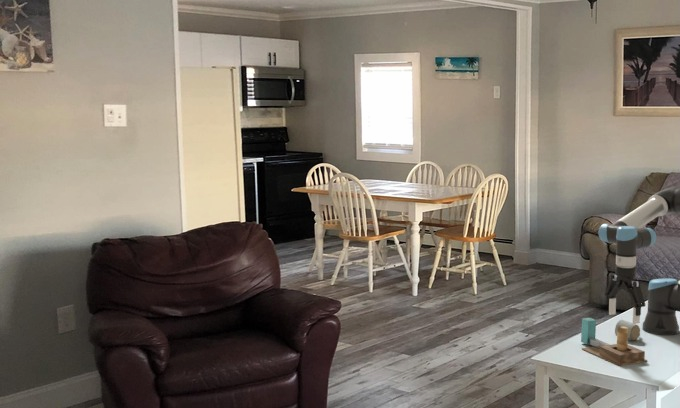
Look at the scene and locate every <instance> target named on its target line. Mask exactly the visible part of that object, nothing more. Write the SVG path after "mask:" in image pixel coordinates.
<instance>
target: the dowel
mask: <svg viewBox="0 0 680 408" xmlns="http://www.w3.org/2000/svg"><path fill="white" fill-rule="evenodd" d="M628 343H629V340H628V328H627V327H618V328H617V336H616V344H617V350H618V351H620V352H625V351H627V345H629V344H628Z"/></svg>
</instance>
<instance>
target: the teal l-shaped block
mask: <svg viewBox="0 0 680 408" xmlns="http://www.w3.org/2000/svg"><path fill="white" fill-rule="evenodd" d="M596 327H597V320H596V319H594V318H592V317H585V318H584V317H583V318H581V334H580V336H581V339H580V343H582V344H585V345H590V346H591V347H597V348H600V346H606V345H611V344H609V343H607V342H605V341H602V340H601V339H597V338H596V333H597V332H596V330H597V329H596ZM614 349H615V350H616V348H614Z"/></svg>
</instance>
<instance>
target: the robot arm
mask: <svg viewBox="0 0 680 408" xmlns="http://www.w3.org/2000/svg"><path fill="white" fill-rule="evenodd" d="M668 214H677V215H680V186H672V187H668V188H665V189H662V190H660V191H658V192H656V193H654V194H653V195H651V196H649V197H648V199H647V201H646V202H644V203H643V204H641V205H640V206H638V207H637V208H635V209H634V210H631V211H630V212H629V213H628V214H626V215H624V216H622V217H621V218H620V219H618V220H617V221H615V222H613V223H612V224H611V223H602V224H601V225H600V226H599V228H598V238H599V239H600V241H601V242H603V243H604V242H605V243H609V244H615V247H616V248H615V250H616V252H615V265H616V266H615V268H614V269H615V272H614V273H615V274H611V275H610V280H609V283H608V285H607V287H606V289H605V293H604V295H605V296H606V297H607V298H608V315H610V316H612V315H616V314H617V312H616V309H617V297H616V296H617V295H618V293H619V292H620V291H621V290H623V291H626V293H628V295H629V296H630V299H631V302H632V303H633V307H632V323H633V324H636V325H638V324H640V322H641V321H640V320H641V317H640V316H641V315H642V308H643V307H646V301H645V299H644V296H643V295H644V294H643V292H642V289H641V281H639V280H637V281H636V280H634V279H635V277H636V275H637V273H636V272H637V271H636V270H637V268H636V266H637V250H641V249H644V248H649V247H652V246H653V245H655V244H656V241H657V234H656V231H655V230H653V229H652V228H650V227H644V226H646V225H647V224H648V223H650V222H651V221H653V220H654V219H656V218H658V217H663V216H665V215H668ZM647 291H648V292H647V293H648V294H647V311H646V314H645V317H644V321H643V322H642V325H641V326H642V328H641V329H642V330H643V331H644V332H647V333H650V334H655V335H661V336H662V335H664V336H669V335H670V336H671V335H672V336H673V335H677V334H679V333H680V326H679V323H678V319H677V315H676V312H678V313H679V312H680V279H679V280H678V279H676V278H668V277H667V278H665V277H664V278H654V279H651V280H650V281H649V283H648V288H647Z"/></svg>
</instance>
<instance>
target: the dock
mask: <svg viewBox="0 0 680 408" xmlns="http://www.w3.org/2000/svg"><path fill="white" fill-rule="evenodd" d="M614 348H616V350H615V349H614ZM581 350H582V351H584V352H586V353H589V354H591V355H593V356H595V357H598V358H600V359H602V360H604V361H606V362H609V363H611V364H612V365H613V364H614V365H615V366H618V367H621V366H627V365H633V364H640V363H645V362H648V360H647V359H645V358H646V357H645V356H646V355H645V354H646V351H645V350H642V349H640V348H637V347H635V346H632V345H630V344H628V345H627V351H625V352H620V351H618V350H617V343H615V344H614V343H612V344H610V345H606V346H600V348H597V347H595V346H588V347H582V348H581Z"/></svg>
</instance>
